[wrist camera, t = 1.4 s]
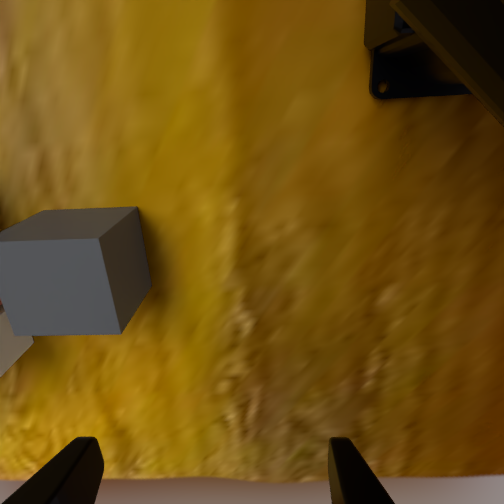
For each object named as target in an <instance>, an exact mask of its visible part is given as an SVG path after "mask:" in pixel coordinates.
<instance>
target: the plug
mask: <svg viewBox="0 0 504 504" xmlns="http://www.w3.org/2000/svg"><path fill="white" fill-rule="evenodd" d="M151 286H152V284H151V278H150V273H149V268H148V262H147V257H146V251H145V246H144V241H143V235H142V230H141V224H140V219H139V214H138V208H137V207H114V208H90V209H65V210H43V211H41V212H39V213H37V214H35V215H33V216H31V217H29V218H27V219H25V220H23V221H21V222H19V223H17V224H15V225H13V226H11V227H9V228H7V229H5V230H3V231H1V232H0V299H1V302H2V304H3V307H4V309H5V312H6V315H7V317H8V320H9V323H10V325H11V328H12V331H13V333H14V336H47V335H109V334H122V332H123V331H124V329H125V327H126V326H127V324H128V323H129V321H130V320H131V318H132V316H133V315H134V313H135V312H136V310H137V308H138V307H139V305H140V304H141V302H142V301H143V299H144V297H145V296H146V294H147V293H148V291H149V289H150V288H151Z"/></svg>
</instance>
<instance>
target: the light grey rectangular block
mask: <svg viewBox="0 0 504 504" xmlns="http://www.w3.org/2000/svg"><path fill="white" fill-rule="evenodd" d="M33 343H34V341H33V338H32V336H14V333H13V331H12V328H11V325H10V323H9V320H8V317H7V315H6V312H5V309H4V307H3V304H2V305H1V306H0V377H1V376H2V375H3V374H4V373H5V372H6V371H7V370H8V369H9V368H10V367H11V366H12V365H13V364H14V363H15V362H16V361H17V360H18V359H19V358H20V357H21V355H22V354H23V353H24V352H25V351H26V350H27V349H28V348H29V347H30V346H31V345H32V344H33Z"/></svg>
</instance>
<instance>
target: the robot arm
mask: <svg viewBox="0 0 504 504" xmlns="http://www.w3.org/2000/svg"><path fill="white" fill-rule="evenodd" d="M364 45H365V46H366V47H367V49H368V50H371V65H370V80H369V91H370V94H371V95H372V96H373V97H374V98H376V99H392V98H410V97H427V96H445V95H462V94H473V95H474V96H475V97H476V98H477V99H478V100H479V101H480V102H481V103H482V104H483V105H484V106H485V108H486V109H487V110H488V111H489V112H490V113H491V114H492V115H493V116H494V117H495V118H496V119H497V120H498V121H499V123H500V124H501V125H502V126H503V127H504V0H366V14H365V31H364ZM381 80H384V81H385V82H386V83H387V87H386V90H385V91H384V92H382V93H381V92H379V91H378V88H377V86H378V83H379V82H380V81H381ZM103 472H104V460H103V456H102V453H101V450H100V447H99V443H98V441H97V439H96V438H95V437H77V438H75V439H74V440H73V441H71V442H70V443H69V444H68V445H67V446H66V447H65V448H63V449H62V450H61V451H60V452H59V453H58V454H57V455H56V456H54V457H53V458H52V459H51V460H50V461H49V462H48V463H47V464H45V465H44V466H43V467H42V468H41V469H40V470H39V471H38V472H36V473H35V474H34V475H33V476H32V477H31V478H30V479H29V480H27V481H26V482H25V483H24V484H23V485H22V486H21V487H20V488H19V489H17V490H16V491H15V492H14V493H13V494H12V495H11V496H10V497H8V499H6V500H5V501H4V502H3V503H2V504H94V503H95V500H96V496H97V493H98V489H99V486H100V483H101V479H102V476H103ZM328 474H329V483H330V492H331V500H332V504H395V503H394V502H393V500H392V499H391V497H390V496H389V495H388V493H387V491H386V490H385V489H384V487H383V486H382V484H381V483H380V482H379V480H378V479H377V477H376V476H375V474H374V473H373V471H372V470H371V469H370V467H369V466H368V464H367V463H366V461H365V460H364V458H363V457H362V456H361V454H360V453H359V451H358V450H357V448H356V447H355V446H354V444H353V443H352V441H351V440H350V439H349V438H347V437H331V438H330V440H329V451H328Z"/></svg>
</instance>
